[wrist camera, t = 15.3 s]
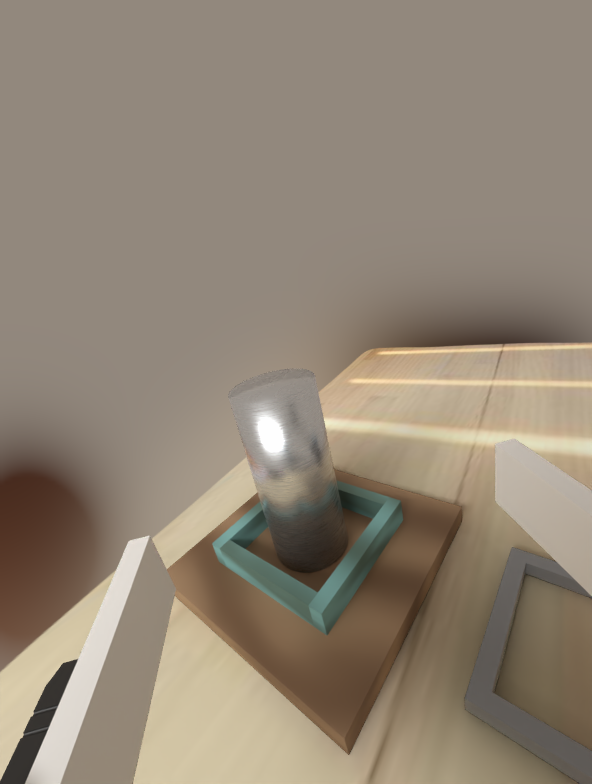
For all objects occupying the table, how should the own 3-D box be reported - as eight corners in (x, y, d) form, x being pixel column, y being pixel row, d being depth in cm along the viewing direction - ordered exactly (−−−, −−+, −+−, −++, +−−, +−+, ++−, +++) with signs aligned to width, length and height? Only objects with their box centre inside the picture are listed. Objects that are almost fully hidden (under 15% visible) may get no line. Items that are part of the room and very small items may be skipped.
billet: (305, 507, 33) (270, 367, 28) (361, 529, 29) (332, 370, 24) (261, 553, 29) (210, 398, 24) (319, 585, 25) (273, 408, 20)
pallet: (299, 469, 41) (293, 444, 40) (462, 520, 29) (460, 487, 28) (166, 588, 29) (151, 557, 28) (349, 754, 17) (337, 715, 16)
